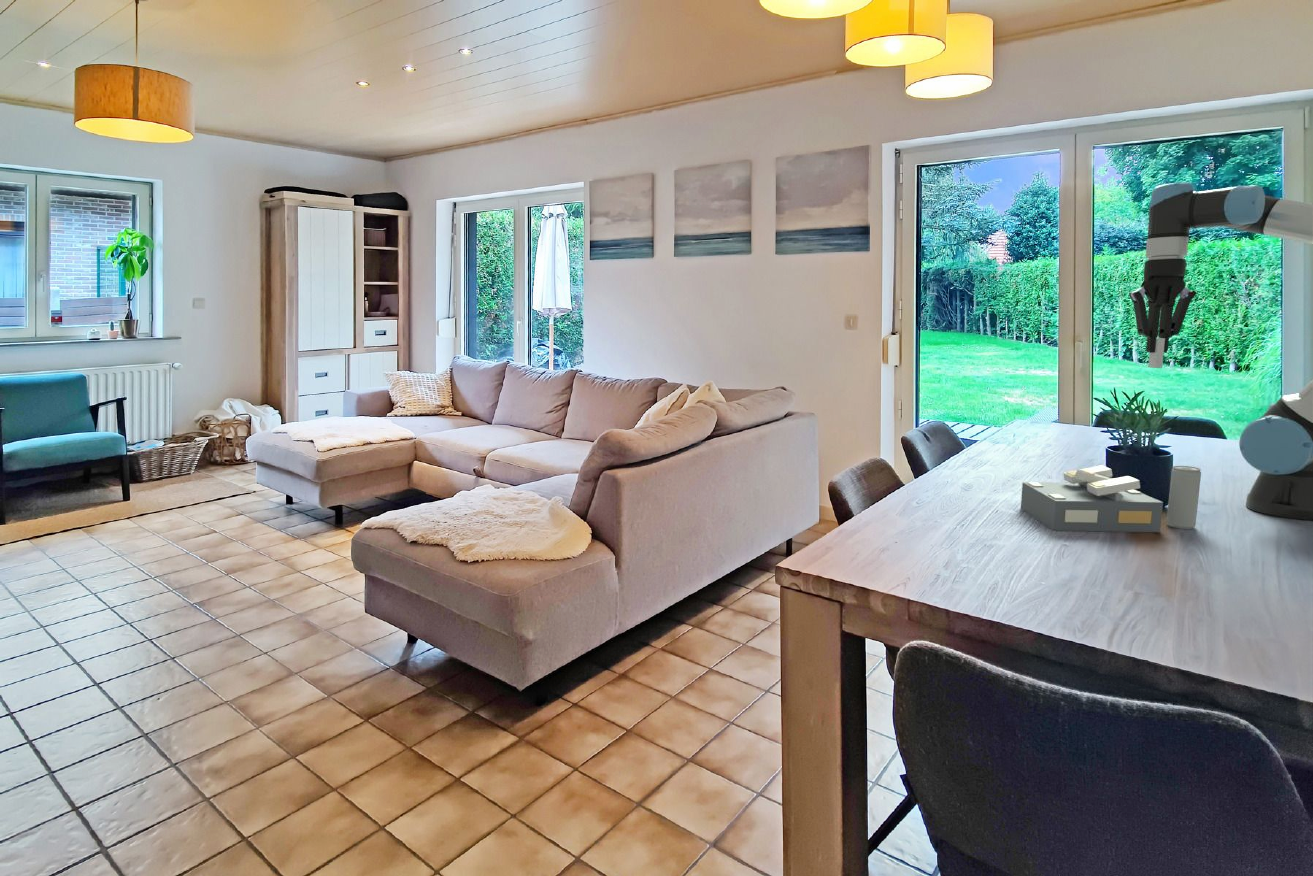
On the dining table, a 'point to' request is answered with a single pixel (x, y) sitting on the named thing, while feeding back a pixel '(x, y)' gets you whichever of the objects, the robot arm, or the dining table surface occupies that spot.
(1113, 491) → the plate
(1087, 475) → the rocker
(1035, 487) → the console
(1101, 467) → the rocker
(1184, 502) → the beverage can
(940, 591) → the dining table surface
